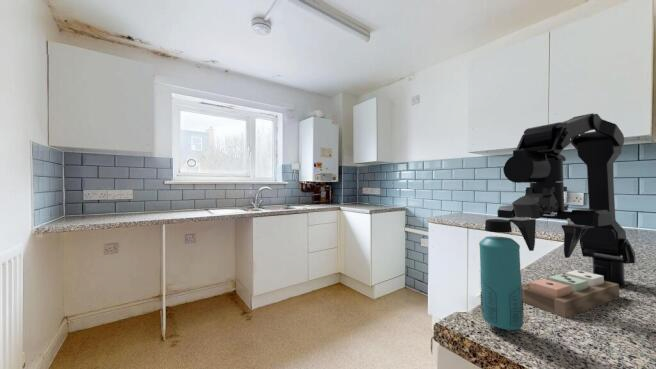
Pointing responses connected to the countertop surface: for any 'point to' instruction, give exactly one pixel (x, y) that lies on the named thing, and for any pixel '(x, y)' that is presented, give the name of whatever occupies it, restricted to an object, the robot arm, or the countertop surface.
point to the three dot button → (570, 282)
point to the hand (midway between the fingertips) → (548, 253)
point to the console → (571, 299)
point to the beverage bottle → (501, 278)
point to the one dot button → (550, 288)
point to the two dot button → (587, 277)
